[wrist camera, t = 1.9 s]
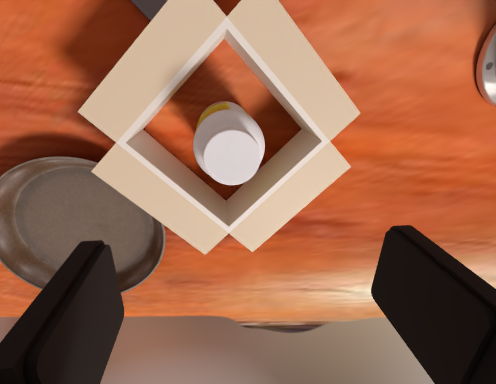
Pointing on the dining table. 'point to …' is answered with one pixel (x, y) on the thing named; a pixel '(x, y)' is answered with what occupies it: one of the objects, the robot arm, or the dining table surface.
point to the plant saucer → (72, 221)
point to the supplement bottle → (228, 143)
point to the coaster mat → (149, 7)
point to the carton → (167, 84)
